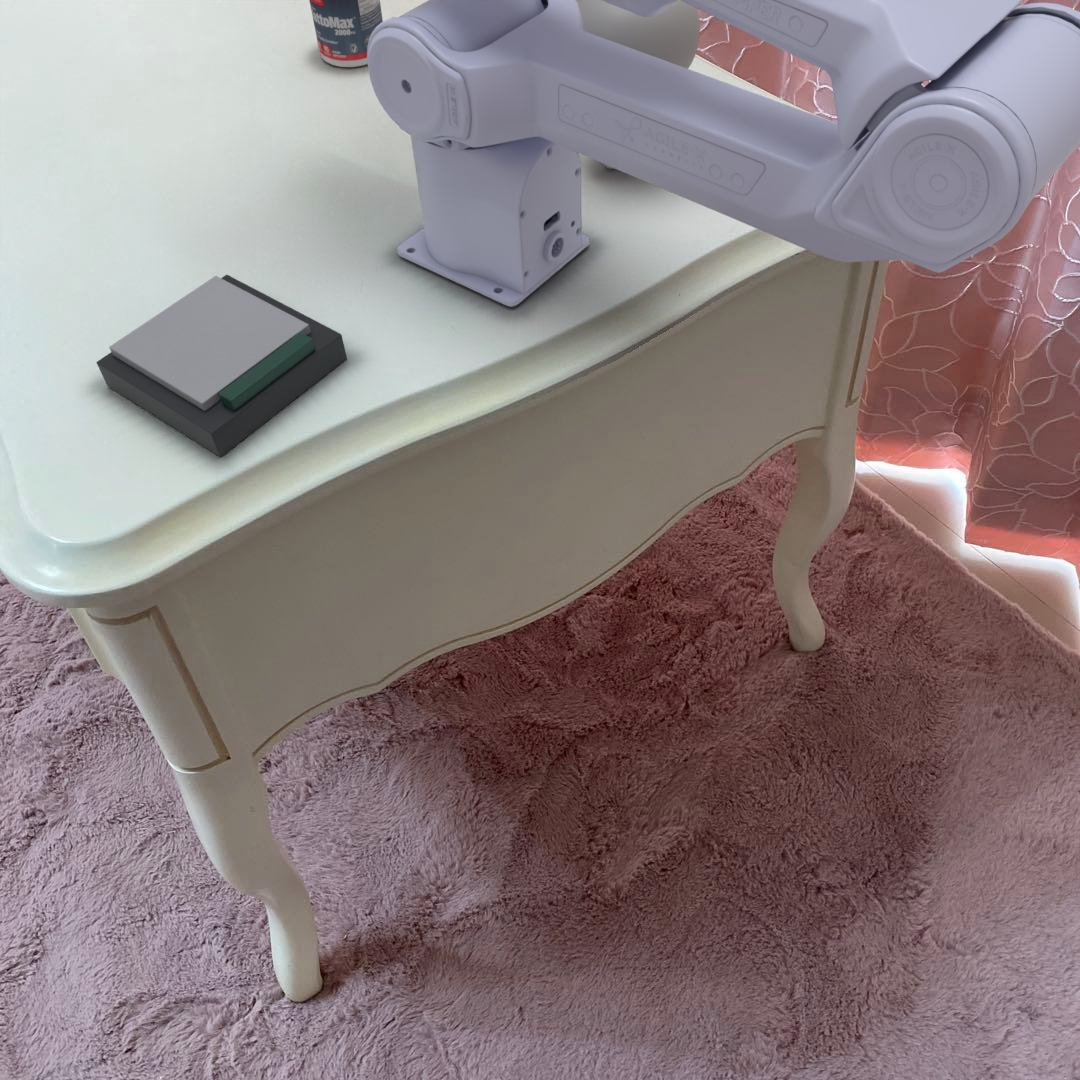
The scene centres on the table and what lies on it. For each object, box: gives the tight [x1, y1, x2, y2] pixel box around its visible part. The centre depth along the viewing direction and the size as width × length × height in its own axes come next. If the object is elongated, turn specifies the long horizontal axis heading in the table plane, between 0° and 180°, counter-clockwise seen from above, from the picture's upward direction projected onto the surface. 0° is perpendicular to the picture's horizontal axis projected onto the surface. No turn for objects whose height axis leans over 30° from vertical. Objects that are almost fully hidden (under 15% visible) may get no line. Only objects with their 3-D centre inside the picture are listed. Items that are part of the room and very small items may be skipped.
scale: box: [96, 274, 348, 458], centre depth 59 cm, size 10×10×3 cm
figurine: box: [575, 0, 701, 170], centre depth 67 cm, size 8×8×12 cm
